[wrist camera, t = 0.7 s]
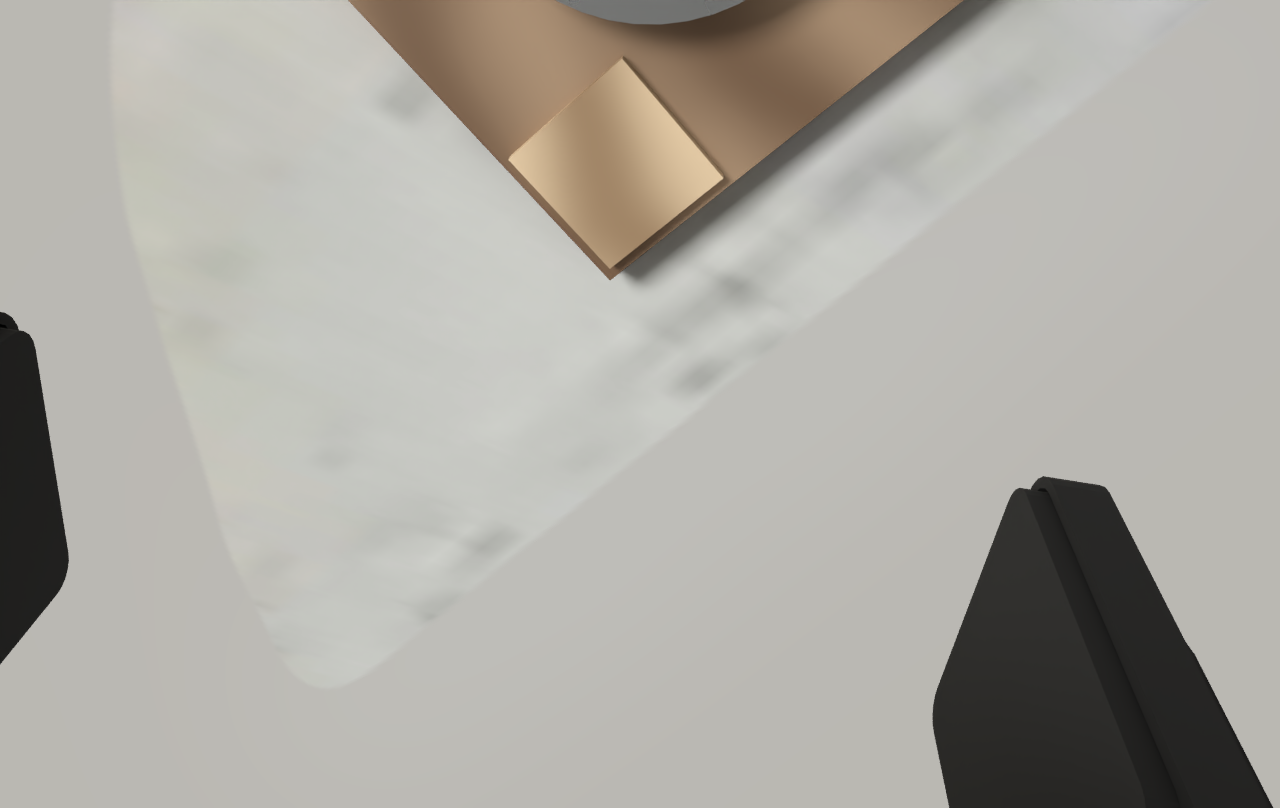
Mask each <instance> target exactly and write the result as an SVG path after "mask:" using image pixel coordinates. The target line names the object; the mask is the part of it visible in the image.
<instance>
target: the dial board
mask: <svg viewBox="0 0 1280 808" xmlns="http://www.w3.org/2000/svg"><path fill="white" fill-rule="evenodd" d="M348 1H349V2H350V3H351V4H352V5H353V6H354V7H355V8H356V9H357V10H358V11H359V12H360V13H361V14H362V16H363V17H364V18H365V19H366V20H367V21H368V22H369V23H370V24H371V25H372V26H373V27H374V28H375V29H376V31H377V32H378V33H379V34H380V35H381V36H382V37H383V38H384V39H385V40H386V41H387V42H388V43H389V44H390V45H391V47H392V48H393V49H394V50H395V51H396V52H397V53H398V54H399V55H400V56H401V57H402V58H403V59H404V60H405V62H406V63H407V64H408V65H409V66H410V67H411V68H412V69H413V70H414V71H415V72H416V73H417V74H418V75H419V77H420V78H421V79H422V80H423V81H424V82H425V83H426V84H427V85H428V86H429V87H430V88H431V89H432V90H433V92H434V93H435V94H436V95H437V96H438V97H439V98H440V99H441V100H442V101H443V102H444V103H445V104H446V105H447V106H448V108H449V109H450V110H451V111H452V112H453V113H454V114H455V115H456V116H457V117H458V118H459V119H460V120H461V121H462V123H463V124H464V125H465V126H466V127H467V128H468V129H469V130H470V131H471V132H472V133H473V134H474V135H475V136H476V138H477V139H478V140H479V141H480V142H481V143H482V144H483V145H484V146H485V147H486V148H487V149H488V150H489V151H490V153H491V154H492V155H493V156H494V157H495V158H496V159H497V160H498V161H499V162H500V163H501V164H502V165H503V166H504V168H505V169H506V170H507V171H508V172H509V173H510V174H511V175H512V176H513V177H514V178H515V179H516V180H517V181H518V182H519V184H520V185H521V186H522V187H523V188H524V189H525V190H526V191H527V192H528V193H529V194H530V195H531V196H532V197H533V199H534V200H535V201H536V202H537V203H538V204H539V205H540V206H541V207H542V208H543V209H544V210H545V211H546V212H547V214H548V215H549V216H550V217H551V218H552V219H553V220H554V221H555V222H556V223H557V224H558V225H559V226H560V227H561V229H562V230H563V231H564V232H565V233H566V234H567V235H568V236H569V237H570V238H571V239H572V240H573V241H574V242H575V243H576V245H577V246H578V247H579V248H580V249H581V250H582V251H583V252H584V253H585V254H586V255H587V256H588V257H589V258H590V260H591V261H592V262H593V263H594V264H595V265H596V266H597V267H598V268H599V269H600V270H601V271H602V272H603V273H604V275H605V276H606V277H607V278H608V279H609V280H611V279H612V278H614V277H615V276H616V275H617V274H619V273H620V272H621V271H622V270H624V269H625V268H626V267H627V266H629V265H630V264H631V263H633V262H634V261H635V260H636V259H638V258H639V257H640V256H641V255H643V254H644V253H645V252H646V251H648V250H649V249H650V248H651V247H653V246H654V245H655V244H657V243H658V242H659V241H660V240H662V239H663V238H664V237H665V236H667V235H668V234H669V233H670V232H672V231H673V230H674V229H675V228H677V227H678V226H679V225H680V224H682V223H683V222H684V221H686V220H687V219H688V218H689V217H691V216H692V215H693V214H694V213H696V212H697V211H698V210H699V209H701V208H702V207H703V206H704V205H706V204H707V203H708V202H710V201H711V200H712V199H713V198H715V197H716V196H717V195H718V194H720V193H721V192H722V191H723V190H725V189H726V188H727V187H728V186H730V185H731V184H732V183H734V182H735V181H736V180H737V179H739V178H740V177H741V176H742V175H744V174H745V173H746V172H747V171H749V170H750V169H751V168H752V167H754V166H755V165H756V164H757V163H759V162H760V161H761V160H763V159H764V158H765V157H766V156H768V155H769V154H770V153H771V152H773V151H774V150H775V149H776V148H778V147H779V146H780V145H781V144H783V143H784V142H785V141H787V140H788V139H789V138H790V137H792V136H793V135H794V134H795V133H797V132H798V131H799V130H800V129H802V128H803V127H804V126H805V125H807V124H808V123H809V122H810V121H812V120H813V119H814V118H816V117H817V116H818V115H819V114H821V113H822V112H823V111H824V110H826V109H827V108H828V107H829V106H831V105H832V104H833V103H834V102H836V101H837V100H838V99H840V98H841V97H842V96H843V95H845V94H846V93H847V92H848V91H850V90H851V89H852V88H853V87H855V86H856V85H857V84H858V83H860V82H861V81H862V80H864V79H865V78H866V77H867V76H869V75H870V74H871V73H872V72H874V71H875V70H876V69H877V68H879V67H880V66H881V65H882V64H884V63H885V62H886V61H887V60H889V59H890V58H891V57H893V56H894V55H895V54H896V53H898V52H899V51H900V50H901V49H903V48H904V47H905V46H906V45H908V44H909V43H910V42H911V41H913V40H914V39H915V38H917V37H918V36H919V35H920V34H922V33H923V32H924V31H925V30H927V29H928V28H929V27H930V26H932V25H933V24H934V23H935V22H937V21H938V20H939V19H940V18H942V17H943V16H944V15H946V14H947V13H948V12H949V11H951V10H952V9H953V8H954V7H956V6H957V5H958V4H959V3H961V2H962V1H963V0H745V1H743V2H741V3H740V4H738V5H735V6H733V7H730V8H728V9H725V10H723V11H720V12H718V13H716V14H713V15H709V16H705V17H702V18H698V19H694V20H690V21H685V22H677V23H669V24H631V23H624V22H617V21H611V20H606V19H603V18H599V17H596V16H593V15H589V14H586V13H582V12H580V11H578V10H576V9H573V8H571V7H569V6H567V5H564V4H562V3H560V2H558V1H556V0H348Z"/></svg>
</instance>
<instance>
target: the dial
mask: <svg viewBox="0 0 1280 808" xmlns="http://www.w3.org/2000/svg"><path fill="white" fill-rule="evenodd" d="M556 1H558V2H560V3H562V4H564V5H567V6H569V7H571V8H573V9H576V10H578V11H580V12H582V13H586V14H589V15H593V16H596V17H599V18H603V19H606V20H611V21H617V22H624V23H631V24H669V23H677V22H685V21H690V20H694V19H698V18H702V17H705V16H709V15H713V14H716V13H718V12H720V11H723V10H725V9H728V8H730V7H733V6H735V5H738V4H740V3H741V2H743V1H745V0H556Z"/></svg>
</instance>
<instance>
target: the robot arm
mask: <svg viewBox="0 0 1280 808" xmlns="http://www.w3.org/2000/svg"><path fill="white" fill-rule="evenodd" d="M68 562H69V558H68V548H67V542H66V536H65V529H64V524H63V518H62V512H61V505H60V498H59V492H58V486H57V480H56V474H55V468H54V461H53V455H52V449H51V443H50V436H49V430H48V424H47V418H46V411H45V405H44V400H43V393H42V387H41V380H40V374H39V368H38V362H37V356H36V349H35V346H34V342H33V340H32V338H31V337H30V335H29V334H27V333H26V332H24V331H19V329H18V326H17V324H16V323H15V321H14V320H13V318H12V317H11V316H9V315H7V314H6V313H2V312H0V664H1V663H2V661H3V660H4V659H5V658H6V656H7V655H8V654H9V653H10V652H11V650H12V649H13V648H14V647H15V645H16V644H17V643H18V642H19V640H20V639H21V638H22V637H23V635H24V634H25V633H26V632H27V631H28V629H29V628H30V627H31V625H32V624H33V623H34V622H35V621H36V619H37V618H38V617H39V616H40V615H41V613H42V612H43V611H44V610H45V608H46V607H47V606H48V605H49V603H50V602H51V601H52V600H53V598H54V597H55V596H56V595H57V593H58V592H59V590H60V589H61V587H62V585H63V582H64V580H65V577H66V573H67V569H68ZM933 729H934V735H935V739H936V745H937V750H938V754H939V759H940V764H941V769H942V774H943V779H944V784H945V789H946V794H947V799H948V803H949V808H1273V807H1272V805H1271V803H1270V801H1269V799H1268V797H1267V795H1266V793H1265V791H1264V789H1263V787H1262V785H1261V783H1260V781H1259V779H1258V777H1257V775H1256V773H1255V771H1254V770H1253V767H1252V766H1251V764H1250V762H1249V760H1248V758H1247V756H1246V754H1245V752H1244V750H1243V748H1242V746H1241V744H1240V742H1239V740H1238V739H1237V736H1236V734H1235V732H1234V731H1233V728H1232V726H1231V725H1230V723H1229V721H1228V719H1227V717H1226V715H1225V713H1224V711H1223V709H1222V707H1221V705H1220V704H1219V701H1218V699H1217V697H1216V696H1215V693H1214V691H1213V690H1212V687H1211V685H1210V684H1209V682H1208V680H1207V678H1206V676H1205V674H1204V672H1203V670H1202V668H1201V666H1200V664H1199V662H1198V660H1197V658H1196V656H1195V654H1194V653H1193V652H1192V650H1191V649H1190V648H1189V646H1188V645H1187V643H1186V642H1185V640H1184V638H1183V636H1182V634H1181V632H1180V630H1179V628H1178V626H1177V624H1176V622H1175V621H1174V619H1173V616H1172V614H1171V612H1170V611H1169V609H1168V607H1167V605H1166V603H1165V601H1164V599H1163V597H1162V595H1161V593H1160V591H1159V589H1158V587H1157V585H1156V583H1155V581H1154V579H1153V577H1152V575H1151V573H1150V571H1149V569H1148V567H1147V565H1146V564H1145V561H1144V559H1143V558H1142V556H1141V554H1140V552H1139V550H1138V548H1137V546H1136V544H1135V542H1134V540H1133V538H1132V536H1131V534H1130V532H1129V530H1128V528H1127V526H1126V524H1125V522H1124V520H1123V518H1122V516H1121V514H1120V512H1119V510H1118V508H1117V507H1116V504H1115V502H1114V501H1113V499H1112V497H1111V495H1110V493H1109V492H1108V490H1107V489H1106V488H1105V487H1103V486H1100V485H1095V484H1088V483H1082V482H1076V481H1070V480H1063V479H1057V478H1050V477H1044V476H1043V477H1041V478H1039V479H1038V480H1037V481H1036V482H1035V483H1034V485H1033V486H1032V488H1031V490H1030V489H1023V488H1018V489H1016V490H1015V491H1014V492H1013V494H1012V495H1011V497H1010V500H1009V502H1008V504H1007V507H1006V509H1005V512H1004V515H1003V517H1002V520H1001V522H1000V525H999V528H998V530H997V533H996V536H995V538H994V541H993V543H992V546H991V549H990V552H989V554H988V557H987V559H986V562H985V564H984V567H983V570H982V572H981V575H980V578H979V580H978V583H977V586H976V588H975V591H974V593H973V596H972V599H971V601H970V604H969V607H968V609H967V612H966V614H965V617H964V620H963V623H962V625H961V628H960V630H959V633H958V635H957V638H956V641H955V643H954V646H953V649H952V651H951V654H950V656H949V659H948V662H947V664H946V667H945V670H944V672H943V675H942V677H941V680H940V683H939V685H938V688H937V692H936V694H935V699H934V705H933Z"/></svg>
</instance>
